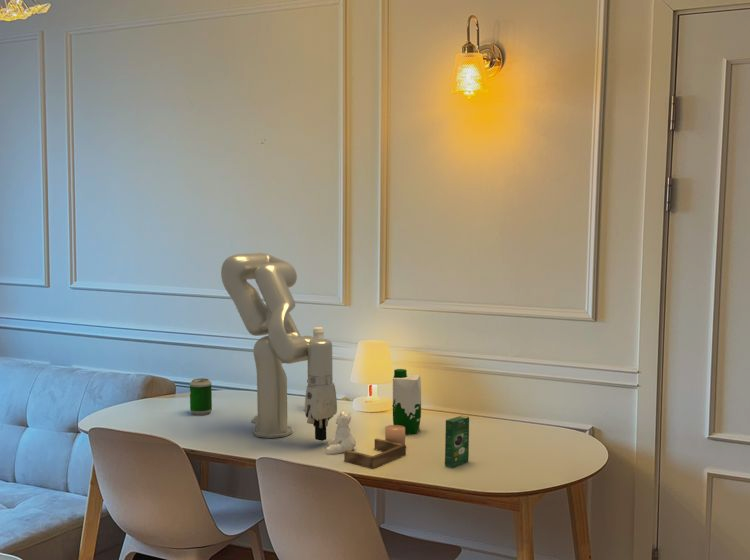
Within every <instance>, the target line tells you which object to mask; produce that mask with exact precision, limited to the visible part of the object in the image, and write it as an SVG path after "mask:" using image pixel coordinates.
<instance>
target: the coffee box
mask: <svg viewBox="0 0 750 560" xmlns="http://www.w3.org/2000/svg"><path fill="white" fill-rule="evenodd" d="M444 436H445V440H444V441H445V445H444V446H445V449H444V451H445V452H444V466H445V467H446V468H447V467H448V468H449V469H451V468H454V467H458V466H460V465H462V464H466V463H467V462H469V458H470V457H469V456H470V455H469V453H470V452H469V448H470V447H469V446H470V442H469V441H470V440H469V439H470V417H469V416H468V415H467V416H465V415H460V416H456V417H453V418H449V419H446V420H445V435H444Z"/></svg>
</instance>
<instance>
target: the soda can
mask: <svg viewBox="0 0 750 560" xmlns="http://www.w3.org/2000/svg"><path fill="white" fill-rule="evenodd" d="M212 392H213V391H212V381H211V380H210V379H208V378H205V377H203V378H194V379H192V380H191V381H190V383H189V412H191V414H192V415H194V416H198V417H199V416H206V415H209V414H210V413H211V411H212V410H213V400H212Z"/></svg>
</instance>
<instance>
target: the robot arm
mask: <svg viewBox="0 0 750 560" xmlns="http://www.w3.org/2000/svg"><path fill="white" fill-rule="evenodd" d="M220 269H221V270H220V271H221V272H220V276H221V277H220V278H221V282H222V285H223V287H224V289H225V290H226V292H227V294H228V295H229V297H230V299H231V300H232V301H233V304H234V305H235V308H236V310H237V312H238V314H239V317H240V319H241V321H242V323H243V326H245V329H246V330H247V332H248V333H249V334H250V335H251V336H255V337H256V336H263V337H260V338H259V339H257V341H256V342H255V344H254V345H253V349H252V350H253V357H254V358H253V359H254V363H255V367H256V368H255V371H256V390H257V391H256V392H257V393H256V394H257V396H256V397H257V398H256V399H257V401H256V403H257V406H256V407H257V415H255V416H254V417H253V418H252V419H251V420H250V423H251V424H254V425H255V427H254V428H253V429H252V434H253V435H254V436H255V437H258V438H263V439H275V438H282V437H283V438H284V437H288V436H289V435H292V433H293V428H292V426H289V425H288V378H287V377H288V376H287V373H286V371H285V369H284V366H283V365H282V364H286V365H287V364H294V363H295V364H296V363H300V362H304V361H305V362H306V361H307V379H306V383H307V385H306V391H305V398H304V399H305V401H304V413H305V417H306V418H307V420H306V421H307V422H306V423H307V424H309V425H313V427H314V438H315V440H316V441H317V440H318V441H321V442H322V441H326V440H327V427H328V424H329V421H330V419H332V418H333V417H334V416H335V415H336V414H337V412H338V401H337V391H336V385H335V383H334V381H333V377H334V376H333V343H332V341H331V340H330V339H328V338H327V339H326V338H323V339H318V338H315V337H313V335H303V336H301V334H300V331H299V330H298V328H297V325H296V324H295V321H294V319H293V318H292V316H291V311H293V310H294V309H295V307H296V300H295V299H294V296H293V295H292V293H291V291H290V288H291V287H293V286H294V285H295V284H296V283H297V278H298V276H297V271H296V269H295V267H294V266H293V265H292V264H290V263H289V262H288V261H286V260H284V259H280V258H278V257H276V256H273V255H271V254H268V253H264V252H263V253H262V252H261V253H260V252H258V253H255V252H254V253H241V254H240V253H239V254H233V255H230V256H228V257H226V259H225V260H224V261H223V262H222V266H221V268H220ZM247 280H255V283H256V284H257V287H258V290H259V291H260V294H261V295H260V294H259V291H258V290H257V288H255V287H254V286H253V285H252V284H250V283H249V282H248V281H247ZM262 298H263V299H262ZM263 300H264V301H263Z"/></svg>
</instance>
